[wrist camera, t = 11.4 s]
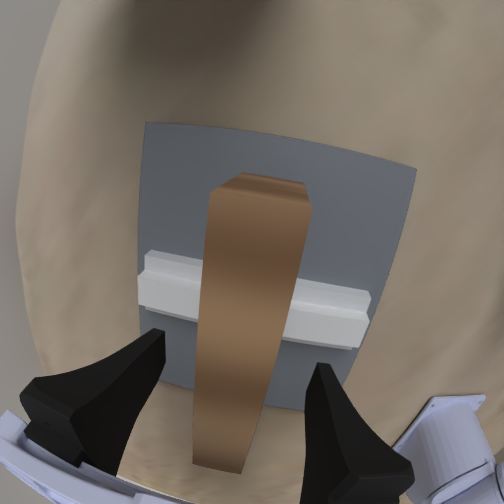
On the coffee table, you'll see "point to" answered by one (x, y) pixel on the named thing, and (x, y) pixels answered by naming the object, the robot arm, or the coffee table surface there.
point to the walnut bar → (243, 309)
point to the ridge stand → (313, 258)
